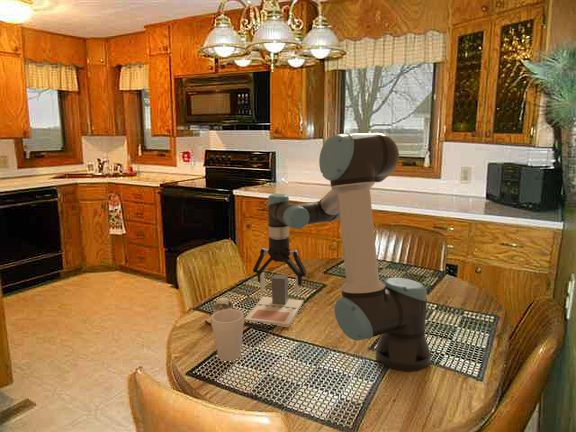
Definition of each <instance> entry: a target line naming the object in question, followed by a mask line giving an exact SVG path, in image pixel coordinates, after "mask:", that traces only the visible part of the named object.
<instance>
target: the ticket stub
mask: <svg viewBox="0 0 576 432" xmlns="http://www.w3.org/2000/svg"><path fill="white" fill-rule="evenodd" d="M271 296H272V297H270V296H263V297H261V299H259V301H258V302H257V303H256V305H257V304H259V305H269V306H279V307H289V308H298V309H300V308H301V309H302V307H303V306H302V304H303V305H304V300H303V299H302V300H301V299H292V298H289V276H288V275H286V274H274V275H273V276H272V277H271ZM301 306H302V307H301ZM301 309H300V310H301Z"/></svg>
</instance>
